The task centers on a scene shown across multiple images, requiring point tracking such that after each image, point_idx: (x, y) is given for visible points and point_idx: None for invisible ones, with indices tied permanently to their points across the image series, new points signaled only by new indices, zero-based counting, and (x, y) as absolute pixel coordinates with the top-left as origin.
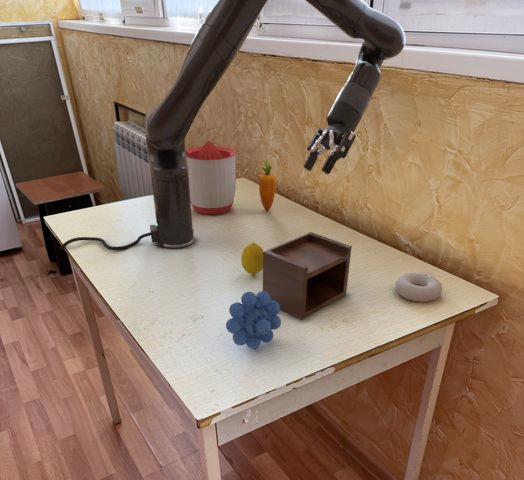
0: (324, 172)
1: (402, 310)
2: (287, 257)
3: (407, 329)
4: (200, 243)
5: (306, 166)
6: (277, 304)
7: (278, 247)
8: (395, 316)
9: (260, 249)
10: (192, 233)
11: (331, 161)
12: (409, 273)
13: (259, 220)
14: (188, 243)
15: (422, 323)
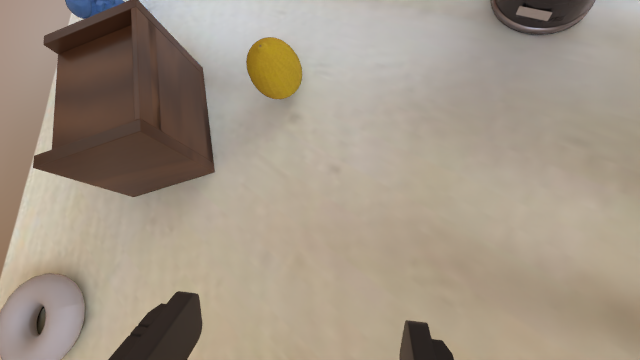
0: (200, 311)
1: (49, 247)
2: (120, 50)
3: (23, 212)
4: (502, 44)
5: (405, 333)
6: (65, 1)
7: (132, 31)
8: (49, 223)
9: (249, 64)
10: (523, 11)
11: (120, 353)
12: (50, 329)
13: (631, 268)
14: (497, 11)
15: (14, 245)
